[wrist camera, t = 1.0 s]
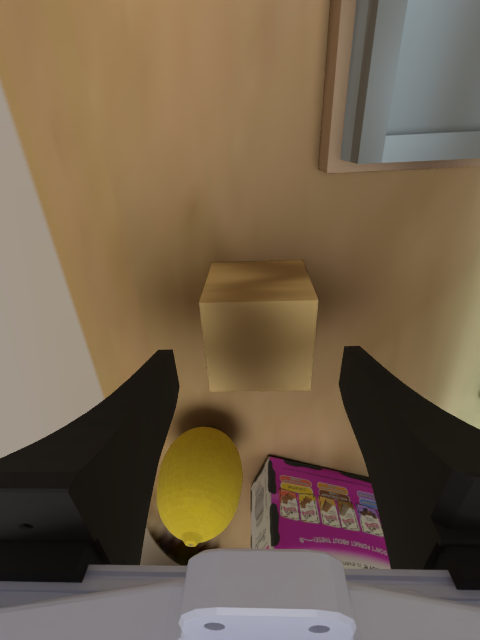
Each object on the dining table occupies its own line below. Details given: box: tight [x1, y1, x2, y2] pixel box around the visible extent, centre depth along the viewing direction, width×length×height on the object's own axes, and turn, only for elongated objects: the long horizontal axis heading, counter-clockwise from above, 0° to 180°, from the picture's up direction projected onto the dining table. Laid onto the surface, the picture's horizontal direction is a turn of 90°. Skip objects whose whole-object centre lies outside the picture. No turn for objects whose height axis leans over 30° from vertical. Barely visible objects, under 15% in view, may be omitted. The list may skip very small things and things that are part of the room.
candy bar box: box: [251, 457, 391, 569], centre depth 20 cm, size 11×5×16 cm, turn 73°
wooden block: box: [199, 260, 318, 392], centre depth 17 cm, size 5×5×5 cm
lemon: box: [157, 427, 243, 547], centre depth 21 cm, size 6×6×8 cm
